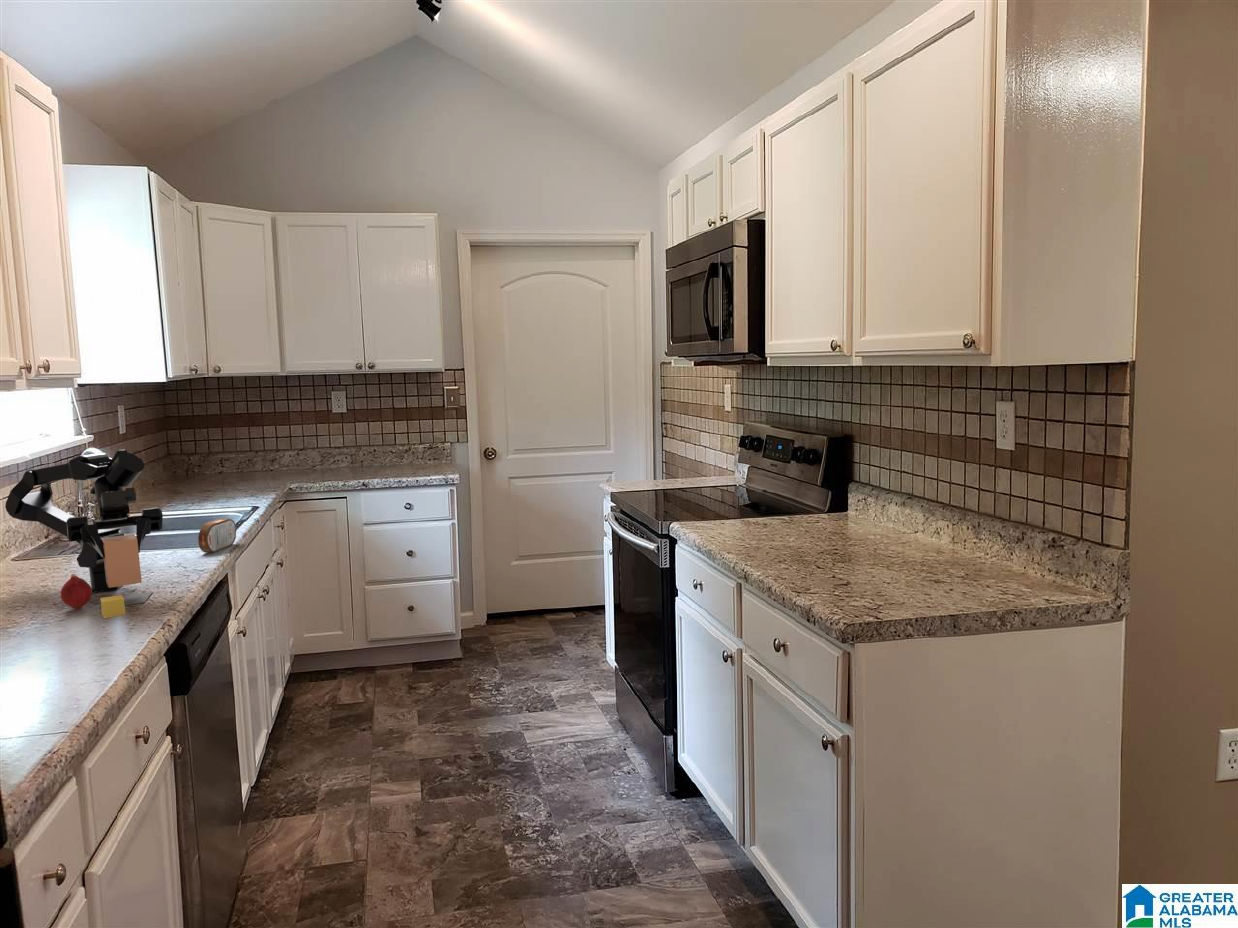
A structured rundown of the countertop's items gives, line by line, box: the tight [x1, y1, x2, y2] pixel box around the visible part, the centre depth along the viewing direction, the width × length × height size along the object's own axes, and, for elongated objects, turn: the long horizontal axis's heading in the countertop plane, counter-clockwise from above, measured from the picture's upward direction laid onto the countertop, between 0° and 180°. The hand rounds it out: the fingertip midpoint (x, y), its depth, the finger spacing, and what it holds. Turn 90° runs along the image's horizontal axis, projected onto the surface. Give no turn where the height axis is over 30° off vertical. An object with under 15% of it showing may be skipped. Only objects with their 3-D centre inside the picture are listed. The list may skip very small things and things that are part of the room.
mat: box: [97, 591, 154, 609], centre depth 202 cm, size 9×9×1 cm
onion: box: [59, 573, 93, 611], centre depth 195 cm, size 6×6×8 cm
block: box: [100, 594, 126, 619], centre depth 191 cm, size 4×4×4 cm
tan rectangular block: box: [101, 533, 143, 588], centre depth 200 cm, size 6×6×10 cm
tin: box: [197, 517, 237, 554], centre depth 252 cm, size 15×3×8 cm, turn 172°
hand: (121, 554), depth 199 cm, fingers closed on tan rectangular block, 6 cm apart
